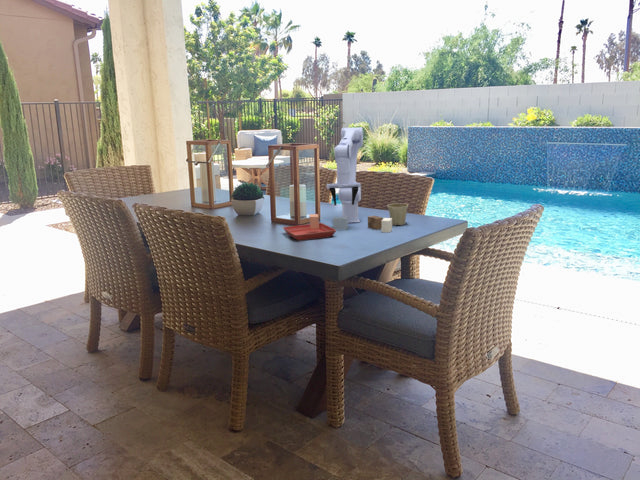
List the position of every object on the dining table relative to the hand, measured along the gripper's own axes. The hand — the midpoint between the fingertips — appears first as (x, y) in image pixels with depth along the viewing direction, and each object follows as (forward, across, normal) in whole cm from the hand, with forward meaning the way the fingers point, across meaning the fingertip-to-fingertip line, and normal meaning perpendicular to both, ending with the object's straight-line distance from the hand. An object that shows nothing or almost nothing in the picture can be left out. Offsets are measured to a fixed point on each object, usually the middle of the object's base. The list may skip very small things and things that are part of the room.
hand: (344, 204), depth 228 cm
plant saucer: (+11, -16, -10) cm, 22 cm away
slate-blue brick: (+10, -2, 0) cm, 11 cm away
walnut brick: (+10, +13, -2) cm, 17 cm away
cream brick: (+11, +17, -8) cm, 22 cm away
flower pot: (+10, +24, +4) cm, 27 cm away
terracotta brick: (+8, -13, -8) cm, 17 cm away
